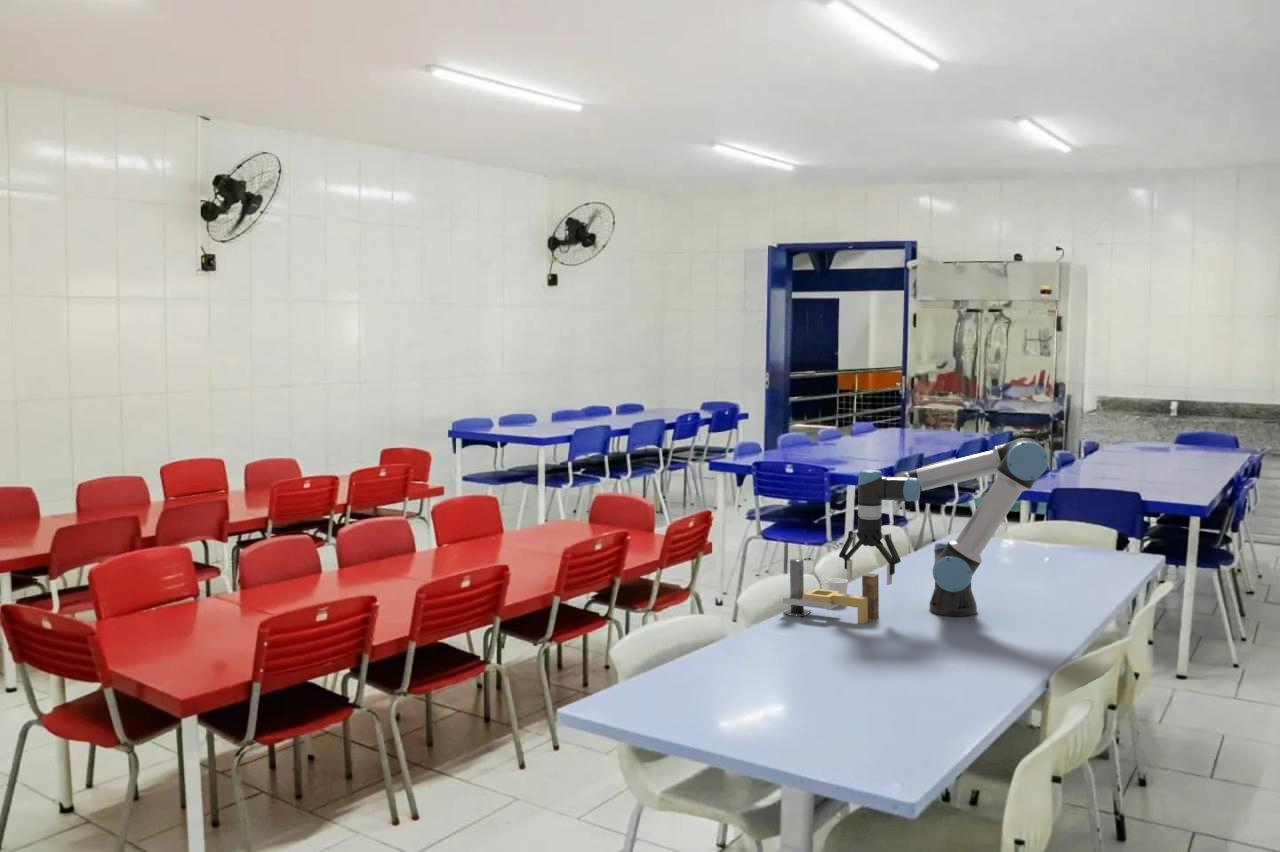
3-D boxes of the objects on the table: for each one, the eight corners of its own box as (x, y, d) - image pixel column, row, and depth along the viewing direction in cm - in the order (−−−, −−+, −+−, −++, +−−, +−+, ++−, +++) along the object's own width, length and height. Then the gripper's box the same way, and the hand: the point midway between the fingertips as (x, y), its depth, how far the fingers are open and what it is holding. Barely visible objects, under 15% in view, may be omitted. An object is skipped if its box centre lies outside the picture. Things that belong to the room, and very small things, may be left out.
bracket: (870, 619, 343) (870, 594, 343) (860, 625, 336) (860, 600, 335) (815, 612, 354) (815, 588, 353) (804, 618, 346) (803, 594, 346)
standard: (841, 615, 349) (841, 561, 347) (831, 621, 341) (830, 566, 340) (793, 609, 358) (792, 556, 357) (781, 615, 351) (781, 561, 349)
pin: (878, 616, 346) (878, 574, 345) (874, 619, 343) (873, 576, 342) (867, 615, 349) (866, 573, 348) (862, 617, 345) (862, 575, 344)
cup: (847, 606, 361) (846, 583, 360) (817, 604, 364) (817, 581, 363) (849, 601, 367) (849, 578, 367) (820, 599, 371) (820, 577, 370)
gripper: (911, 519, 340) (910, 583, 341) (838, 512, 353) (837, 575, 355) (903, 522, 333) (902, 588, 335) (829, 516, 347) (829, 579, 349)
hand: (869, 581), depth 345 cm, fingers open, 13 cm apart
